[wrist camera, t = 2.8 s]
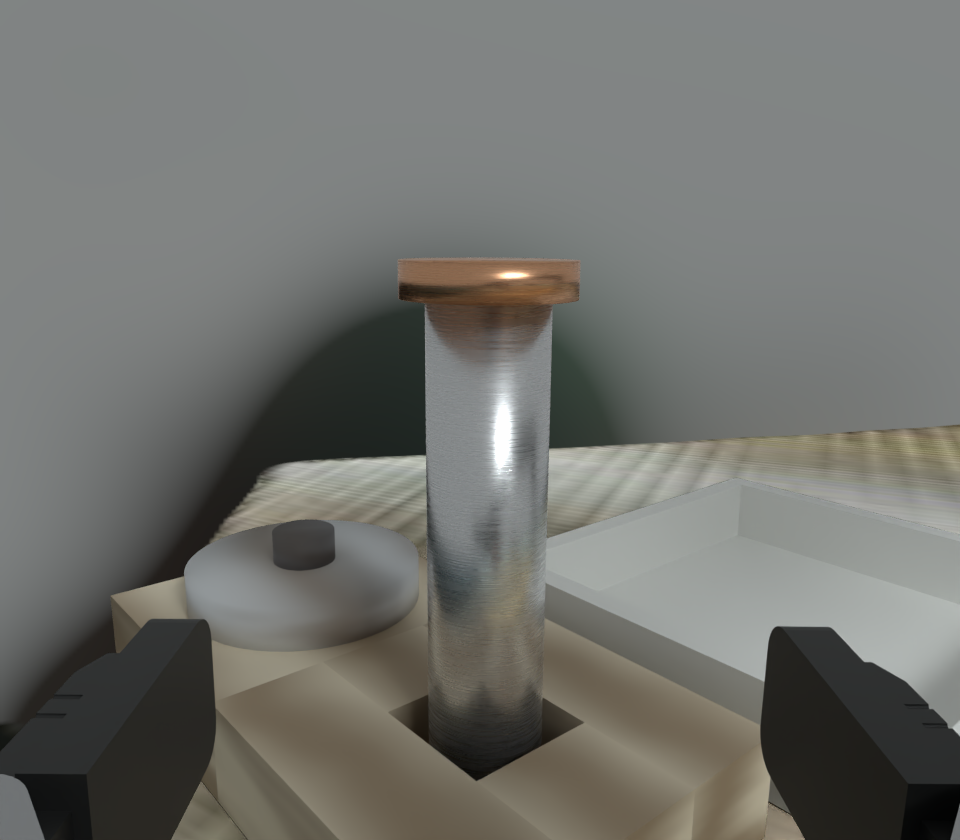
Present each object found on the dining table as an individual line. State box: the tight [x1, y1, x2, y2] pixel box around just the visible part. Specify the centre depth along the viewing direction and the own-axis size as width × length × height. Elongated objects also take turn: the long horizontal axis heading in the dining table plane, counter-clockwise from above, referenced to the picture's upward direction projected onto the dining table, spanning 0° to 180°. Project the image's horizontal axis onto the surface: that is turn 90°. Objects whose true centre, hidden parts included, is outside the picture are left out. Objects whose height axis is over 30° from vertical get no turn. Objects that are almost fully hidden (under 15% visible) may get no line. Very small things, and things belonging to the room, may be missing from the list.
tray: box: [545, 478, 960, 814], centre depth 35 cm, size 19×19×4 cm
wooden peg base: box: [111, 520, 770, 840], centre depth 28 cm, size 12×22×6 cm, turn 40°
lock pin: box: [398, 258, 580, 781], centre depth 23 cm, size 5×5×17 cm
